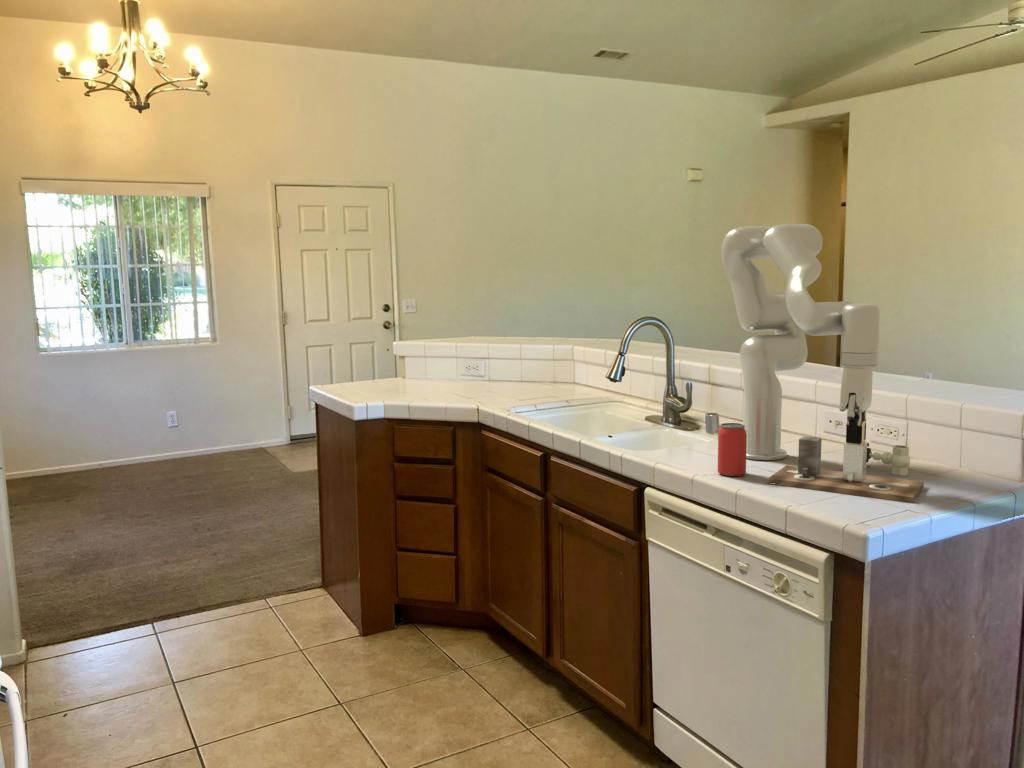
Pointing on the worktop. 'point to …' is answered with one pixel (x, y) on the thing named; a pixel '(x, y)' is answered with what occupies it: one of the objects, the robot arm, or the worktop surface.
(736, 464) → the beer can
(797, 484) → the bolt plate
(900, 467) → the valve
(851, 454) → the block
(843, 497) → the worktop surface
